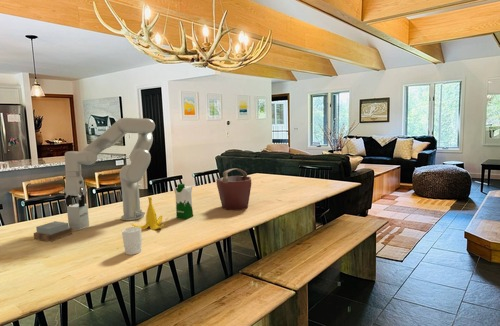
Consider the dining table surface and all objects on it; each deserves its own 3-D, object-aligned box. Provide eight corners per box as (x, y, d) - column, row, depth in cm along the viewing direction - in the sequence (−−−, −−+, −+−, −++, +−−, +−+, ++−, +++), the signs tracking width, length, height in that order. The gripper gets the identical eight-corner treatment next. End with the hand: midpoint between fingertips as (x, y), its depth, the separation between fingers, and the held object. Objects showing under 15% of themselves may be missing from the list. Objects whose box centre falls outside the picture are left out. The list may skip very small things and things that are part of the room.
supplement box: (80, 230, 179) (78, 207, 177) (68, 229, 180) (66, 206, 179) (89, 225, 186) (87, 203, 184) (78, 225, 188) (75, 203, 186)
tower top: (68, 228, 172) (68, 223, 171) (50, 234, 163) (49, 228, 162) (55, 226, 176) (55, 221, 176) (36, 232, 167) (36, 226, 167)
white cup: (126, 249, 149) (124, 227, 148) (144, 248, 150) (143, 226, 149) (121, 256, 141) (119, 233, 140) (140, 254, 142) (138, 232, 141)
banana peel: (162, 221, 191) (160, 192, 189) (164, 231, 173) (162, 199, 171) (132, 224, 187) (129, 195, 185) (130, 235, 169) (127, 202, 167)
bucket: (230, 213, 202) (228, 172, 199) (209, 207, 219) (207, 169, 216) (260, 206, 218) (259, 168, 215) (238, 200, 235) (237, 165, 232)
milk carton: (174, 218, 195) (172, 184, 193) (183, 214, 203) (181, 182, 201) (186, 220, 192) (184, 185, 189) (195, 215, 200) (193, 182, 197)
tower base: (72, 234, 173) (71, 228, 172) (50, 241, 162) (49, 235, 162) (56, 231, 178) (56, 226, 177) (34, 238, 167) (33, 233, 166)
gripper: (91, 174, 179) (92, 205, 181) (68, 172, 186) (70, 203, 188) (79, 176, 172) (80, 208, 174) (56, 174, 180) (58, 205, 181)
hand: (75, 205), depth 181 cm, fingers open, 9 cm apart
